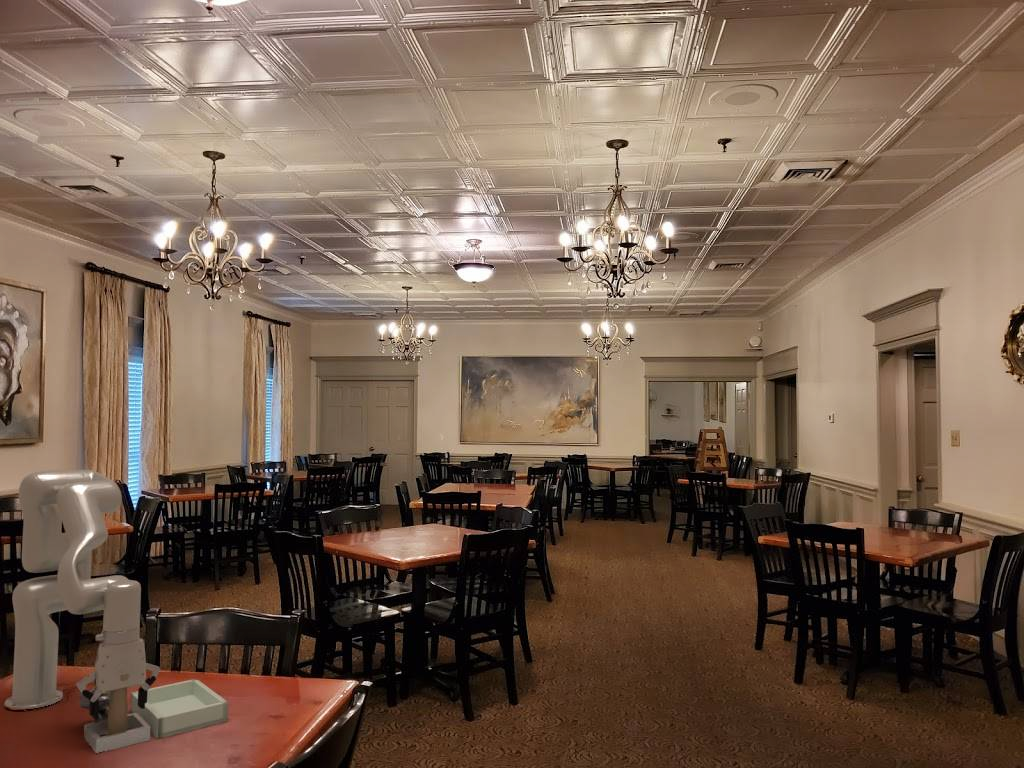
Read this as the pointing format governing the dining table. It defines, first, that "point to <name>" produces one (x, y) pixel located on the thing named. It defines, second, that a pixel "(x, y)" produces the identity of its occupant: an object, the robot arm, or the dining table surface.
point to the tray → (180, 708)
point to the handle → (118, 709)
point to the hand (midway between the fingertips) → (118, 712)
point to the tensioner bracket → (101, 728)
